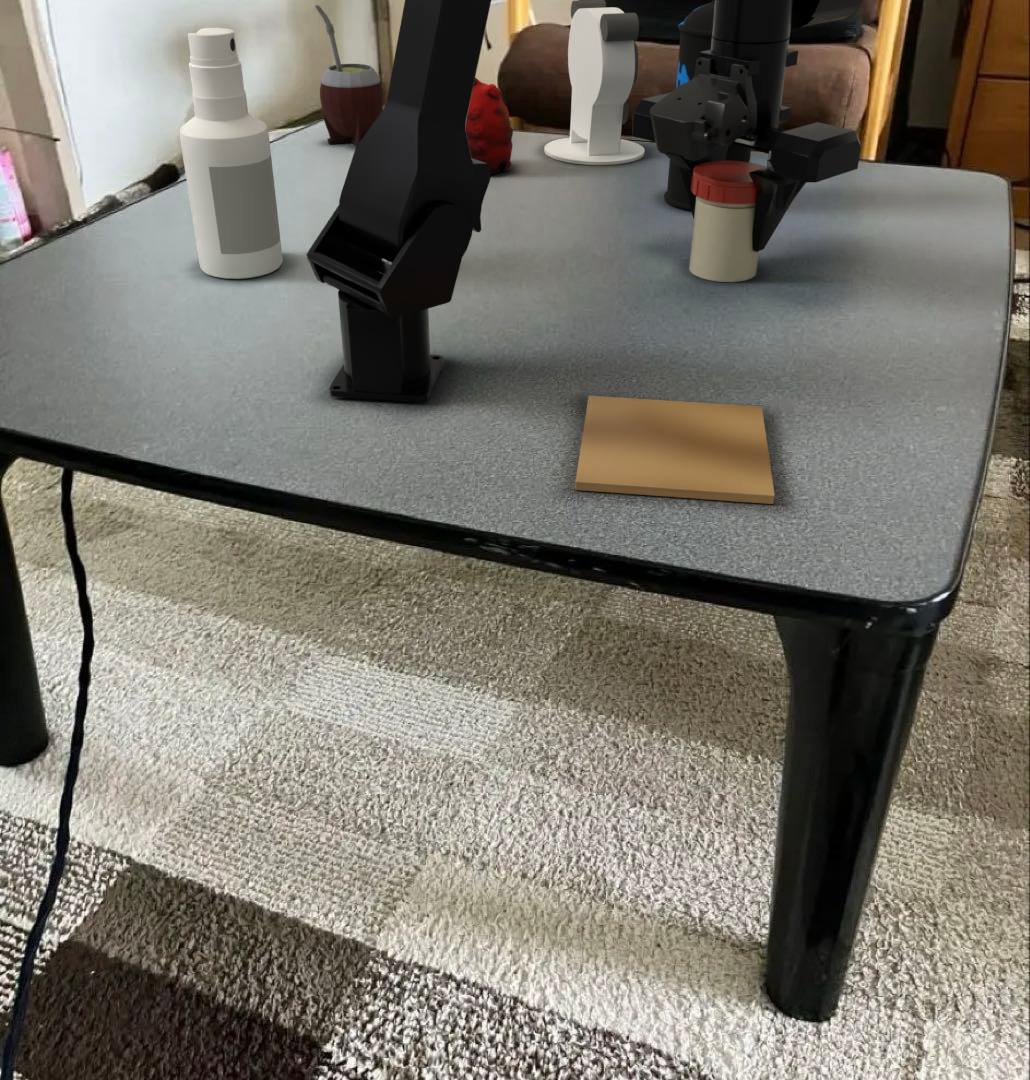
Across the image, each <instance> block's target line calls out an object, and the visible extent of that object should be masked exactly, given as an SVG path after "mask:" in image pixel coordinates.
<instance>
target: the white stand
mask: <svg viewBox="0 0 1030 1080" xmlns="http://www.w3.org/2000/svg"><path fill="white" fill-rule="evenodd" d="M570 17H571V24H570V28H569V36H568V44H567V45H568V46H567V61H568V62H567V64H568V65H567V67H568V74H569V76H568V77H569V81H570V85H571V103H570V105H571V106H570V126H569V137H564V138H563V137H562V138H559V139H555V140H552V141H549V142H548V143H546V144H545V145H544V146H543V147H544V151H543V152H544V154H545V155H546V156H547V157H549V158H551V159H553V160H556V161H559V162H565V163H569V164H577V165H584V166H585V165H586V166H587V165H588V166H612V165H613V166H614V165H622V164H628V163H632V162H635V161H638V160H641V159H642V158H643V157H644V156H645V151H646V150H645V148H644V147H643V146H642V145H641V144H638V143H637V142H634V141H631V140H627V139H623V138H622V128H623V127H622V125H625V124H626V123H627V121H628V119H629V114H630V112H629V103H628V102H627V100H628V99H629V97H630V95H631V92H632V89H633V85H634V84H635V83H636V82H637V79H638V73H639V51H638V45H637V43H636V42H635V41H637V40H638V38H639V33H640V20H639V16H638V15H637V13H636V12H624V11H623V10H622V9H621V8H619V7H615V6H614V7H612V6H611V7H607V2H606V0H572V2H571V5H570Z"/></svg>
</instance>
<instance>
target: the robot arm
mask: <svg viewBox="0 0 1030 1080" xmlns="http://www.w3.org/2000/svg"><path fill="white" fill-rule="evenodd" d="M864 1H865V0H715V6H714V18H713V30H712V41H711V50H707V51H702V52H699V58H698V59H697V61H696V70H695V74H694V77H693V79H692V80H690V81H689V82H687V83H684V84H682V85H680V86H678V87H677V88H676V87H675V89H673V90H671V91H670V92H667V93H663V94H658V95H654V96H650V97H646V98H642V99H641V100H640V101H639V102H638V104H637V106H636V108H635V109H634V111H633V113H632V126H631V127H632V128H631V129H632V130H631V136H632V137H635V138H638V139H642V140H646V141H650V142H654V143H655V145H656V149H657V151H658V152H659V153H660V154H663V155H665V156H666V157H667V158H668V159H669V161H670V160H671V161H673V162H674V163H675V164H676V165H677V167H678V168H679V171H680V173H681V176H682V179H683V182H684V185H685V188H686V192H687V196H688V200H689V204H690V207H691V211H690V212H691V215H692V219H693V220H694V213H695V203H696V195H694V194H693V193H692V191H691V184H692V177H693V171H694V168H695V167H696V166H697V165H699V164H702V163H706V162H712V161H725V157H726V152H727V148H728V146H729V145H730V144H732V145H736V146H740V147H744V148H748V149H751V151H757V152H761V153H765V154H768V159H767V160H766V167H765V168H762V169H759V170H755V171H752V172H749V175H750V177H751V179H752V181H753V183H754V184H755V186H756V188H757V195H756V205H755V214H754V223H753V232H752V249H753V251H755V252H758V251H759V252H760V251H763V250H764V249H765V248H766V246H767V245H768V244H769V241H770V240H771V238H772V236H773V235H774V233H775V231H776V230H777V228H778V226H779V224H780V223H781V221H782V219H784V216H785V215H786V213H787V211H788V209H789V208H790V206H791V205H792V203H793V202H794V200H795V199H796V197H797V196H798V195H799V193H800V192H801V191H802V189H803V188H804V186H806V183H819V182H822V181H825V180H828V179H830V178H831V179H832V178H833V177H838V176H840V175H844V174H846V173H849V172H851V171H856V170H858V168H859V163H860V157H861V150H862V144H861V140H860V139H859V136H858V134H857V132H856V130H855V129H850V128H845V127H841V126H836V125H832V124H828V123H823V122H820V121H819V122H818V121H816V122H813V123H810V124H809V123H808V124H806V125H802V126H798V127H795V128H792V129H789V130H788V129H783V128H779V125H781V124H784V123H788V122H790V120H791V112H792V107H790V106H785V105H782V102H783V93H784V87H785V77H786V71H787V70H786V69H787V68H789V67H794V66H797V65H798V57H799V50H797V49H792V48H789V44H790V35H791V29H800V28H804V27H809V26H813V25H820V24H824V23H830V22H835V21H839V20H843V19H846V18H848V17H850V16H852V15H853V14H854V13H856V12H857V11H858V9H859V8H860V7H861V6H862V4H863V3H864ZM491 4H492V0H404V3H403V9H402V14H401V20H400V24H399V25H400V26H399V29H398V30H399V31H398V36H397V42H396V48H395V53H394V57H393V58H394V59H393V63H392V69H391V75H390V80H389V86H388V91H387V96H386V100H385V103H384V106H383V111H382V112H381V114H380V115H379V116H378V118H377V119H376V120H375V122H374V123H373V125H372V126H371V127H370V129H369V130H368V131H367V133H366V134H365V136H364V137H363V138H362V140H361V141H360V143H359V144H358V145H357V147H355V149H354V151H353V154H352V158H351V161H350V164H349V167H348V171H347V173H346V177H345V180H344V183H343V186H342V188H341V192H340V196H339V200H338V206H337V207H336V209H334V212H333V213H332V215H331V216H330V218H329V219H328V221H327V222H326V223H325V225H324V226H323V228H322V230H321V231H320V233H319V234H318V235H317V237H316V239H315V240H314V241H313V243H312V244H311V246H310V248H309V249H308V251H307V253H306V258H307V261H308V263H309V265H310V268H311V270H312V272H313V274H314V277H315V279H316V281H317V282H320V283H322V284H326V285H329V286H330V287H332V288H334V289H336V290H338V291H337V299H338V311H339V322H340V332H341V334H340V335H341V345H342V357H343V365H342V366H341V368H340V369H339V370H338V372H337V374H336V376H335V378H334V379H333V381H332V382H331V384H330V386H329V388H328V390H329V395H330V396H331V397H333V398H334V397H335V398H346V399H347V398H349V399H363V400H367V399H368V400H380V401H398V402H410V403H412V402H413V403H423V402H427V401H428V400H429V398H430V396H431V394H432V391H433V390H434V387H435V385H436V382H437V380H438V378H439V376H440V373H441V371H442V368H443V366H444V356H443V355H439V354H431V344H430V343H431V339H430V337H431V336H430V313H429V312H430V311H429V310H430V309H432V308H435V307H438V306H442V305H445V304H448V303H450V302H451V301H452V297H453V295H454V291H455V287H456V283H457V280H458V276H459V271H460V267H461V265H462V261H463V257H464V255H465V254H466V253H467V250H468V247H469V245H470V242H471V239H472V236H473V231H474V232H476V233H481V231H482V220H481V215H482V208H483V202H484V199H485V196H486V194H487V190H488V187H489V184H490V182H491V174H490V165H489V164H487V163H484V162H481V161H478V160H475V159H472V156H471V152H470V148H469V143H468V139H467V135H466V120H467V114H468V110H469V105H470V100H471V95H472V91H473V86H474V81H475V78H476V75H477V70H478V66H479V61H480V57H481V51H482V48H483V43H484V38H485V32H486V28H487V24H488V19H489V14H490V9H491ZM748 135H753V137H751V136H748ZM755 136H757V137H755ZM384 260H385V261H384ZM386 261H388V262H386ZM389 262H390V263H391V264H390V263H389Z"/></svg>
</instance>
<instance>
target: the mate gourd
mask: <svg viewBox="0 0 1030 1080" xmlns="http://www.w3.org/2000/svg"><path fill="white" fill-rule="evenodd" d="M314 8H315V9H316V10H317V12H318V13H319V15H320V17H321V18H322V19H323V21H324V24H325V29H326V34H327V35H328V37H329V40H330V45H331V50H332V53H333V58H334V62H335V64H333V65H330V66H328V67H327V68H326V69H325V71H324V72H323V74H322V76H321V78H320V86H319V98H320V105H321V111H322V112H321V113H322V117H323V118H322V119H323V121H324V124H325V127H326V130H327V133H328V136H329V138H327V143H328V145H339V144H352V145H354V147H355V148H356V147H357V145H358V144H359V143H360V141H361V140H362V138H363V137H364V136H365V134H366V133H367V131H368V130H369V129H370V127H371V126H372V125H373V123H374V122H375V120H376V119H377V118H378V116H379V115H380V114H381V112H382V111H383V109H384V91H383V90H384V89H383V86H382V81H381V78H380V76H379V74H378V72H377V71H376V70H375V69H374V67H373V66H371V65H370V64H369V65H368V64H364V63H341V59H340V55H339V50H338V45H337V41H336V38H335V37H336V36H335V34H336V33H335V32H336V31H335V30H334V25H333V23H332V22H331V20H330V18H329V16H328V14H327V13H326V12H325V10H324V9H323V8H322V7H321V6H320V5H318V4H315V6H314Z"/></svg>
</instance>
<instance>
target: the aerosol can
mask: <svg viewBox="0 0 1030 1080" xmlns="http://www.w3.org/2000/svg"><path fill="white" fill-rule="evenodd" d="M714 6H715V0H712V1H711V2H709V3H706V4H703V5H700V6H698V7H697V8H695V9H693V10H692V11H691V12H690V13H689V14H688V15H687V16H686V17H685V19H684V21H682V22H681V23H679V24H678V26H677V28H678V31H679V32H680V34H679V35H680V38H679V48H678V49H679V50H678V59H677V70H676V71H677V72H676V84H675V89H676V88H677V87H678V86H680V85H682V84H684V83H687V82H689V81H690V80H692V79H693V77H694V74H695V70H696V61H697V59H698V58H699V52H702V51H707V50H711V41H712V30H713V18H714ZM748 136H751V137H754V135H748ZM751 155H752V149H748V148H744V147H740V146H736V145H732V144H730V145H729V146H728V148H727V152H726V157H725V161H742V162H750V163H751ZM668 163H669V165H668V174H667V176H668V177H667V187H666V191H665V192H664V194H663V199H664V201H665V202H666V203H667V204H668V205H670V206H673V207H674V208H678V209H681V210H684V211H689V212H692V211H691V207H690V204H689V200H688V196H687V192H686V188H685V185H684V182H683V179H682V176H681V173H680V171H679V168H678V167H677V165H676V164H675V163H674V162H673V161H671V160H670V159H669V162H668Z"/></svg>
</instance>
